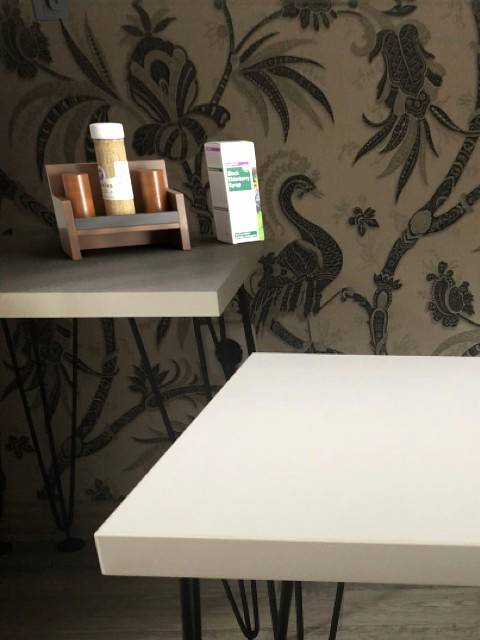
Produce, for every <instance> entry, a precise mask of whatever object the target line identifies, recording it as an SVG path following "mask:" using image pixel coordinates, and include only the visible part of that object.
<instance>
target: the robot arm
mask: <svg viewBox="0 0 480 640" xmlns="http://www.w3.org/2000/svg"><path fill="white" fill-rule="evenodd" d="M30 3H31V9H32V12H33V18H34V21H35V22H52V23H53V22H56V23H57V22H58V21H59V19H68V18H70V9H69V5H68V4H69V3H68V0H30Z"/></svg>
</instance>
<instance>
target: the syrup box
mask: <svg viewBox="0 0 480 640" xmlns="http://www.w3.org/2000/svg"><path fill="white" fill-rule="evenodd" d="M203 146H204V153H205V160H206V168H207V174H208V181H209V189H210V195H211V202H212V210H213V216H214V224H215V231H216V237H217V240H218V241H220V242H222V243H227V244H231V245H237V244H243V243H252V242H259V241H261V242H262V241H264V240H265V233H264V232H265V231H264V224H263V214H262V208H261V207H262V206H261V198H260V189H259V180H258V171H257V162H256V154H255V146H254V142H253V141H250V140H221V141H209V142H204V144H203Z"/></svg>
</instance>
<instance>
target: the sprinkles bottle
mask: <svg viewBox="0 0 480 640" xmlns="http://www.w3.org/2000/svg"><path fill="white" fill-rule="evenodd" d="M89 131H90V138H91V139H92V142H93V145H94V151H95V157H96V163H98V171H99V177H100V183H101V189H102V195H103V199H104V204H105V210H106V216H110V215H124V214H135V208H134V202H133V192H132V186H131V180H130V174H129V168H128V162H127V161H128V159H127V158H128V157H127V153H126V147H125V142H124V141H125V139H124V138H125V133H124V127H123V124H122V123H117V122H95V123H91V124H89Z"/></svg>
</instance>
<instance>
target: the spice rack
mask: <svg viewBox="0 0 480 640" xmlns="http://www.w3.org/2000/svg"><path fill="white" fill-rule="evenodd" d="M127 162H128V168H129V174H130V180H131V186H132V192H133V202H134V208H135V214H124V215H110V216H106V210H105V204H104V199H103V195H102V189H101V183H100V177H99V171H98V163H97V162H80V163H61V164H59V163H57V164H45V165H44V166H45V172H46V176H47V180H48V186H49V190H50V195H51V200H52V204H53V209H54V214H55V220H56V223H57V229H58V233H59V238H60V243H61V248H62V251H63V252H64V253H66V254H67V255H68V256H69V257H70V258H71V259H72V260H73V261H78V260H82V259H83V258H82V253H81V251H83V250H94V249H106V248H116V247H117V248H119V247H129V246H141V245H153V244H163V243H164V244H165V243H170V244H171V245H173V246H175V247H177V248H179V249H181V250H182V251H189V250H192V248H191V247H192V246H191V239H190V232H189V225H188V219H187V212H186V205H185V199H184V198H185V197H184V193H182V192H181V191H178V190H174V189H172V188H169V182H168V176H167V170H166V162H165V160H164V159H146V160H143V159H142V160H127Z"/></svg>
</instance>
